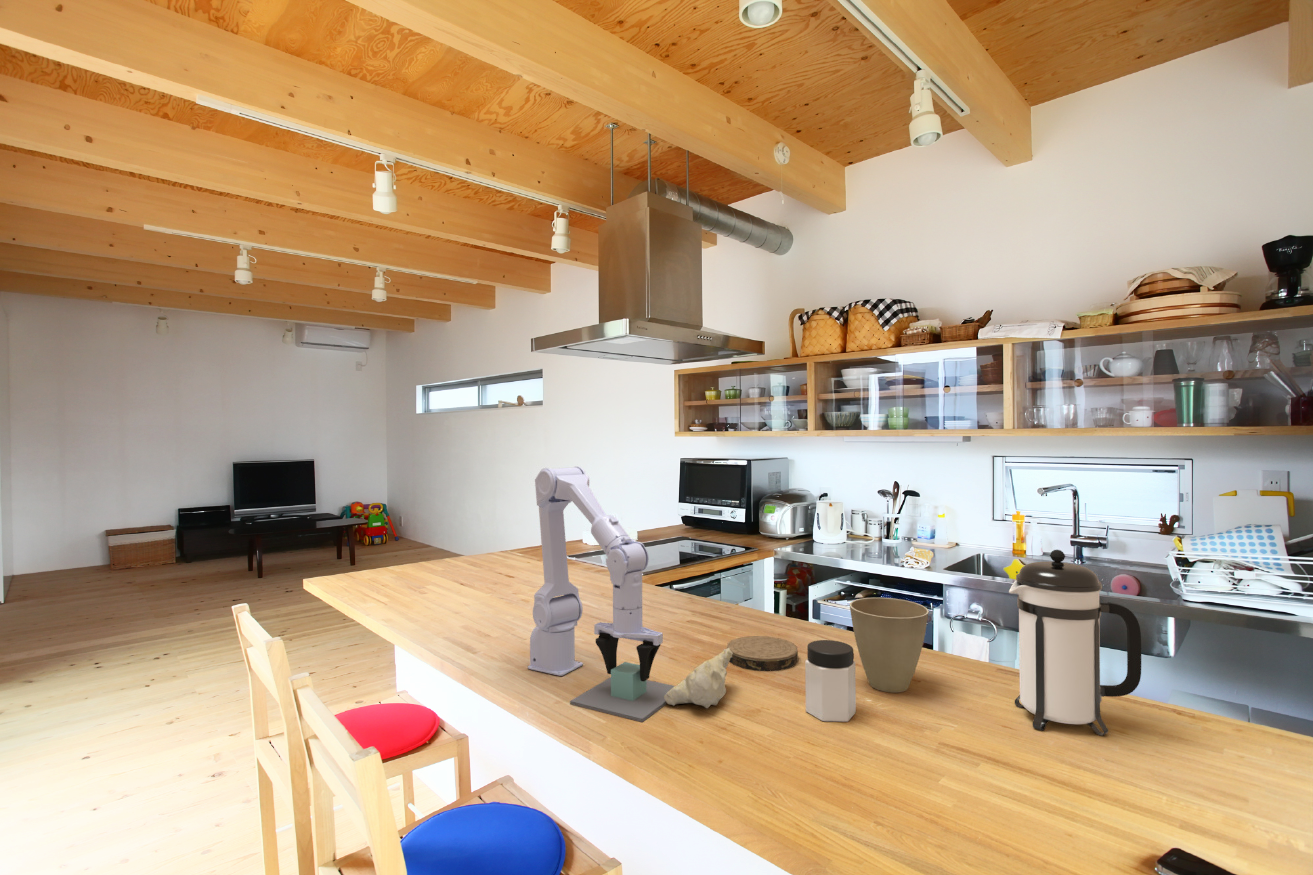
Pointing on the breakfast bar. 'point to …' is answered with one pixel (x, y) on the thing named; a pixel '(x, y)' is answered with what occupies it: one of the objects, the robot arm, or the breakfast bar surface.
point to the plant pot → (889, 640)
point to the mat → (624, 701)
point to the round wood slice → (763, 653)
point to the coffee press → (1067, 644)
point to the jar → (830, 681)
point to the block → (627, 682)
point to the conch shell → (702, 683)
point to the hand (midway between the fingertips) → (628, 675)
